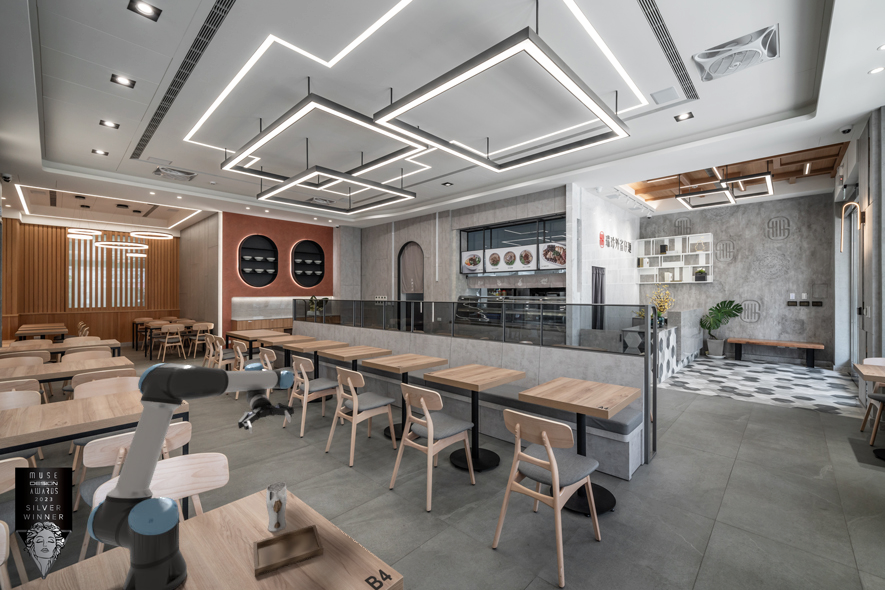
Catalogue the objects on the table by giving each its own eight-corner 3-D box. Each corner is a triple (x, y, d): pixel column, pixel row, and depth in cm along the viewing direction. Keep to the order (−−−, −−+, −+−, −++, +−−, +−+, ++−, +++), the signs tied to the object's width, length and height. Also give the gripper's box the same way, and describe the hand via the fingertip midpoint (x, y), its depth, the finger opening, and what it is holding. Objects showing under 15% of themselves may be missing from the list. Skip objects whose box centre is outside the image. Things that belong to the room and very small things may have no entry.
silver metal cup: (279, 533, 136) (279, 492, 135) (262, 531, 137) (261, 490, 137) (291, 521, 143) (290, 482, 142) (274, 519, 144) (273, 480, 144)
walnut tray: (254, 576, 116) (254, 569, 116) (253, 548, 128) (253, 542, 128) (322, 554, 125) (322, 547, 125) (315, 530, 138) (315, 524, 138)
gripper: (292, 406, 169) (305, 424, 152) (228, 423, 155) (235, 445, 138) (291, 390, 168) (303, 406, 151) (226, 405, 154) (232, 425, 137)
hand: (271, 424), depth 144 cm, fingers open, 13 cm apart
